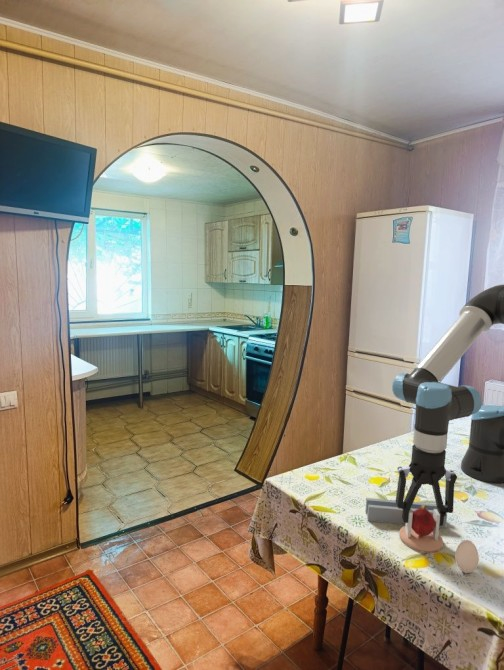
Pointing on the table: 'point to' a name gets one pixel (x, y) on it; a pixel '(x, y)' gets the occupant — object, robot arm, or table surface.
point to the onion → (422, 522)
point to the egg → (467, 556)
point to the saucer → (421, 541)
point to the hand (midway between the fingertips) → (421, 534)
